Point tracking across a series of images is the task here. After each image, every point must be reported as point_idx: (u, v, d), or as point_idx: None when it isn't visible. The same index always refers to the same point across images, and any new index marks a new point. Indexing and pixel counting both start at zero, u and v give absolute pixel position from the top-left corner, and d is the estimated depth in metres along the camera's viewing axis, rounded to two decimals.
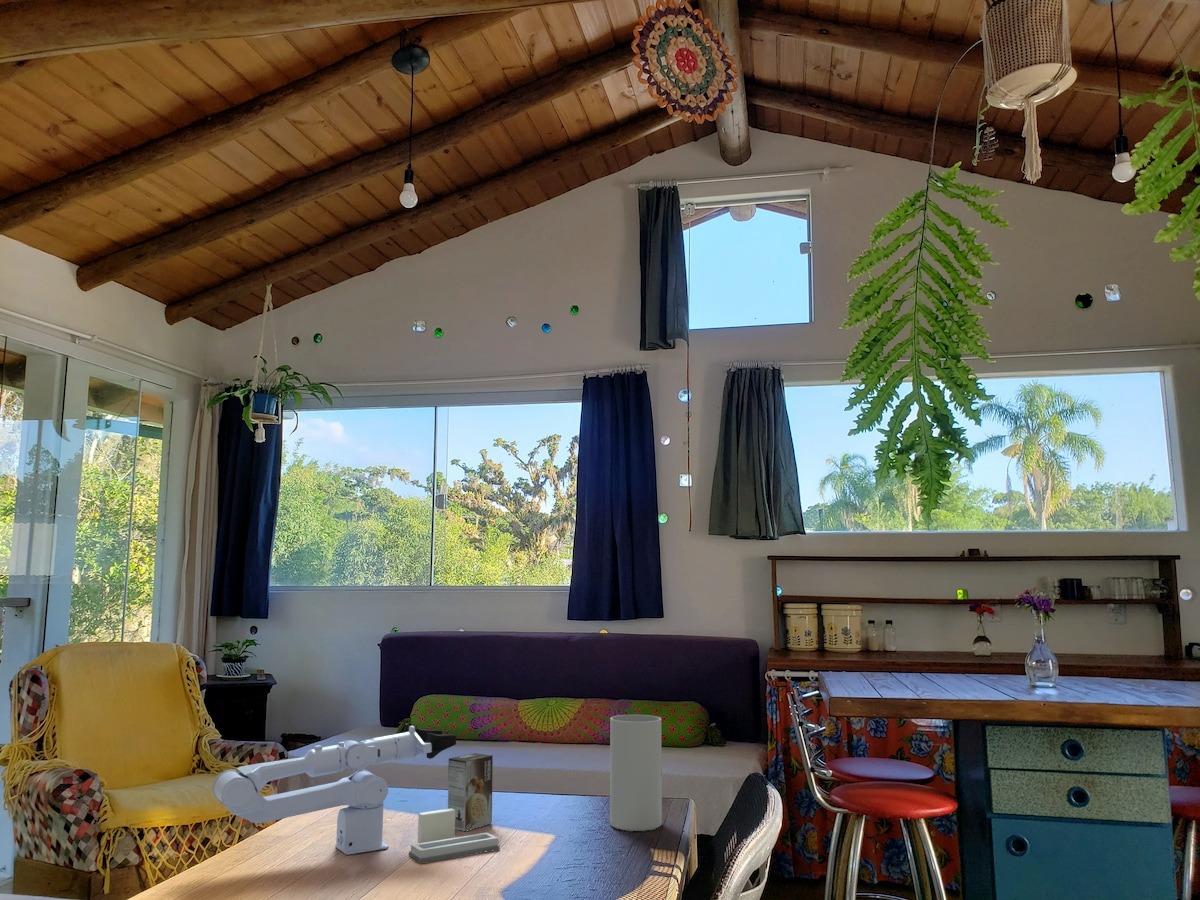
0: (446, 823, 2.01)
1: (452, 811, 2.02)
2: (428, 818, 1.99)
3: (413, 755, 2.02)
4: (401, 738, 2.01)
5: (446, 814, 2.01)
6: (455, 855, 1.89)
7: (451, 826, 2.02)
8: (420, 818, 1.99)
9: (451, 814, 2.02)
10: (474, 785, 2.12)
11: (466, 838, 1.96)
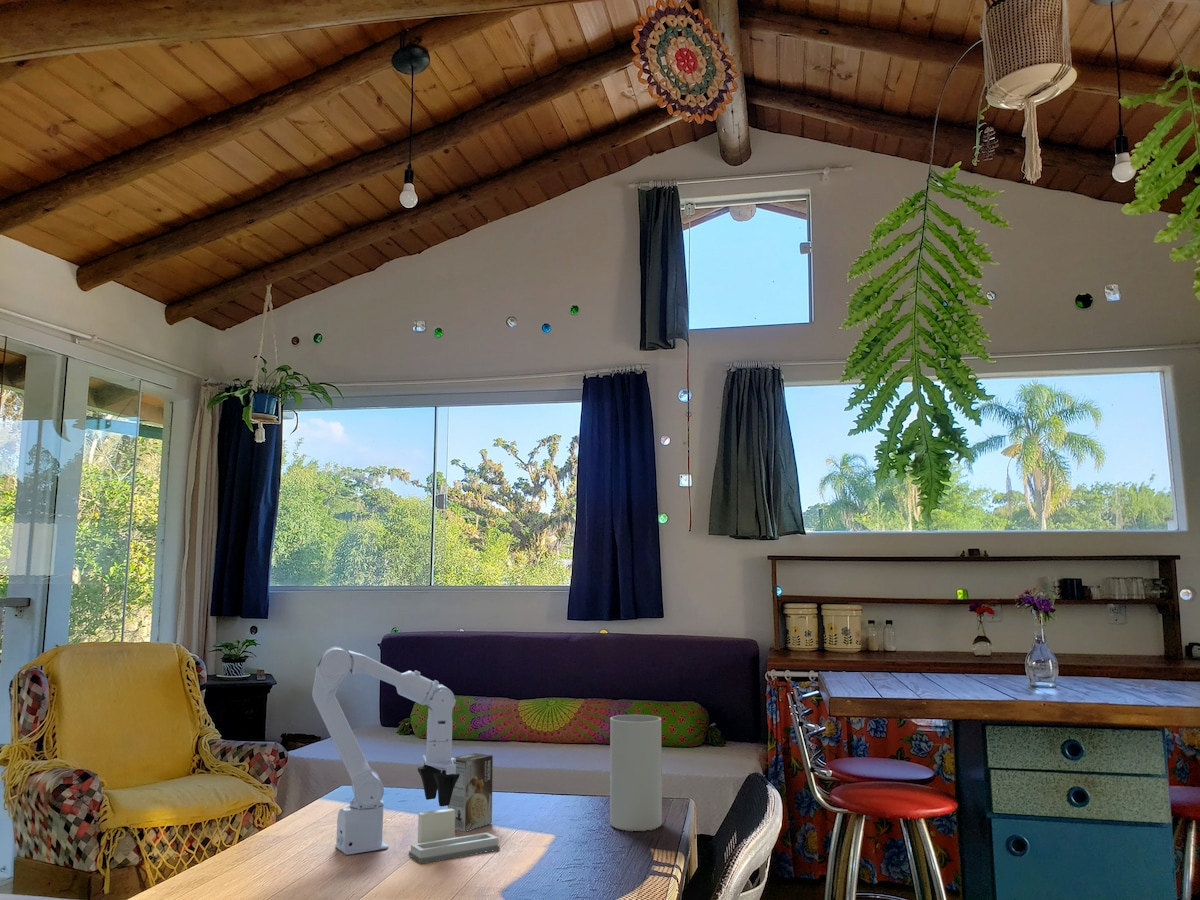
0: (446, 823, 2.01)
1: (452, 811, 2.02)
2: (428, 818, 1.99)
3: (432, 761, 2.00)
4: (451, 746, 2.03)
5: (446, 814, 2.01)
6: (455, 855, 1.89)
7: (451, 826, 2.02)
8: (420, 818, 1.99)
9: (451, 814, 2.02)
10: (474, 785, 2.12)
11: (466, 838, 1.96)
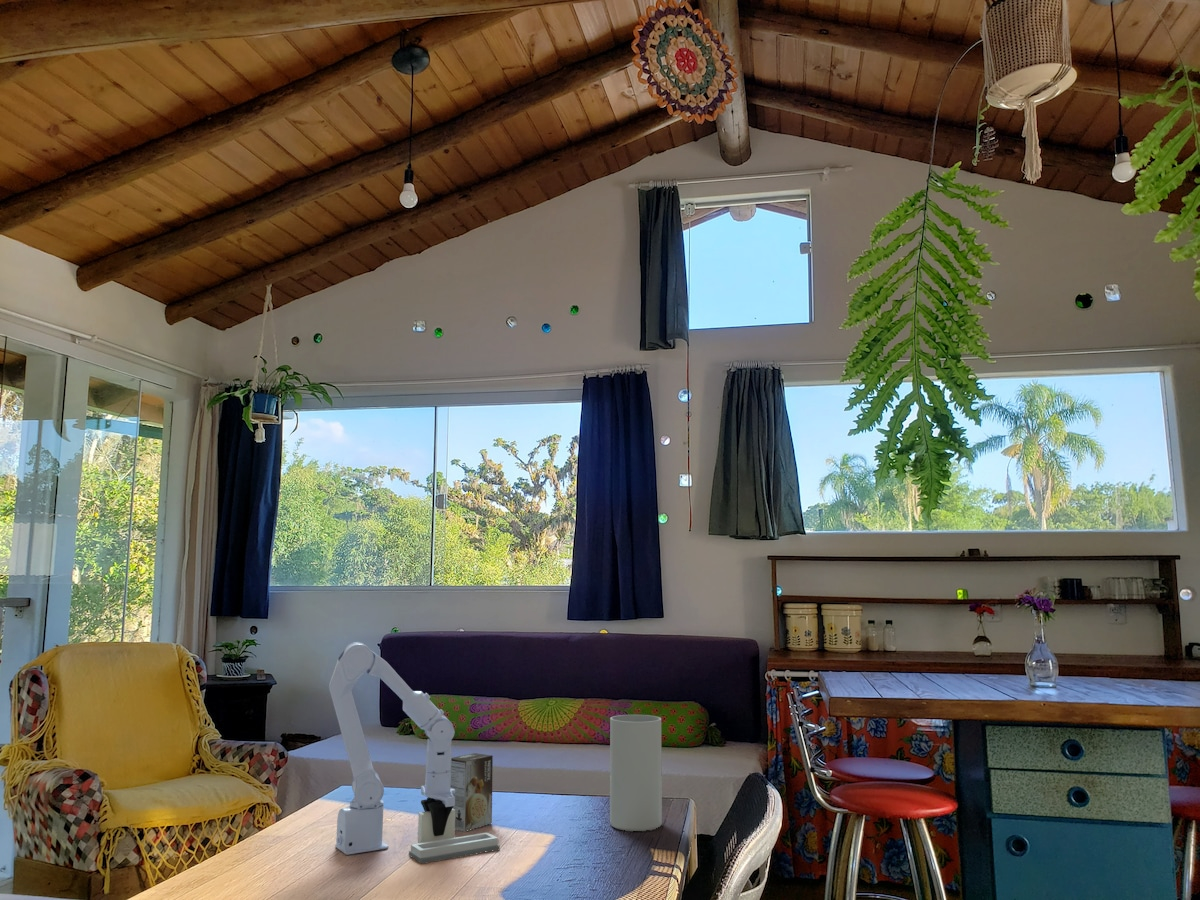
0: (446, 823, 2.01)
1: (452, 811, 2.02)
2: (428, 818, 1.99)
3: (431, 792, 1.99)
4: (450, 777, 2.02)
5: None
6: (455, 855, 1.89)
7: (451, 826, 2.02)
8: (420, 818, 1.99)
9: (451, 814, 2.02)
10: (474, 785, 2.12)
11: (466, 838, 1.96)
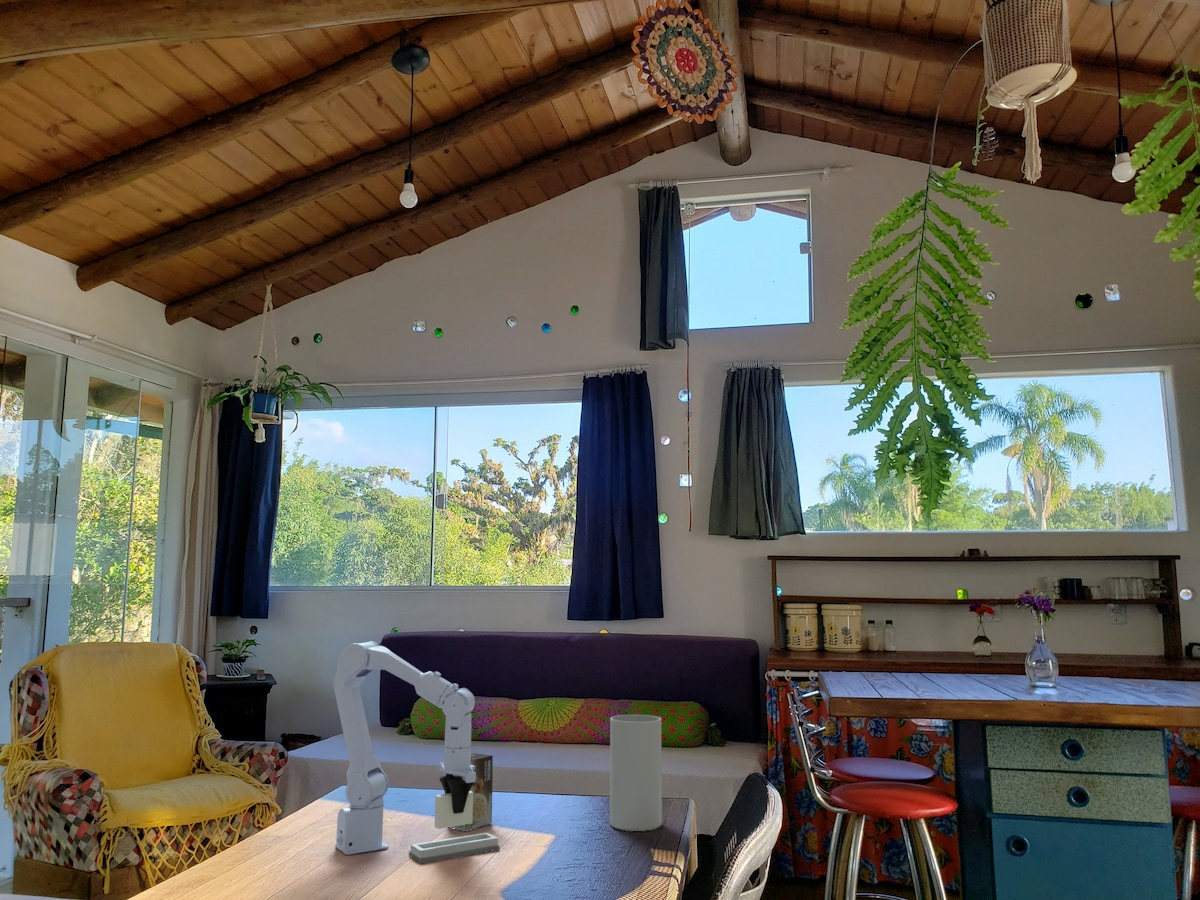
0: None
1: (470, 793, 1.95)
2: (445, 800, 1.91)
3: (451, 768, 1.92)
4: (470, 753, 1.95)
5: None
6: (455, 855, 1.89)
7: (469, 809, 1.94)
8: (437, 800, 1.91)
9: (469, 796, 1.94)
10: (474, 785, 2.12)
11: (466, 838, 1.96)
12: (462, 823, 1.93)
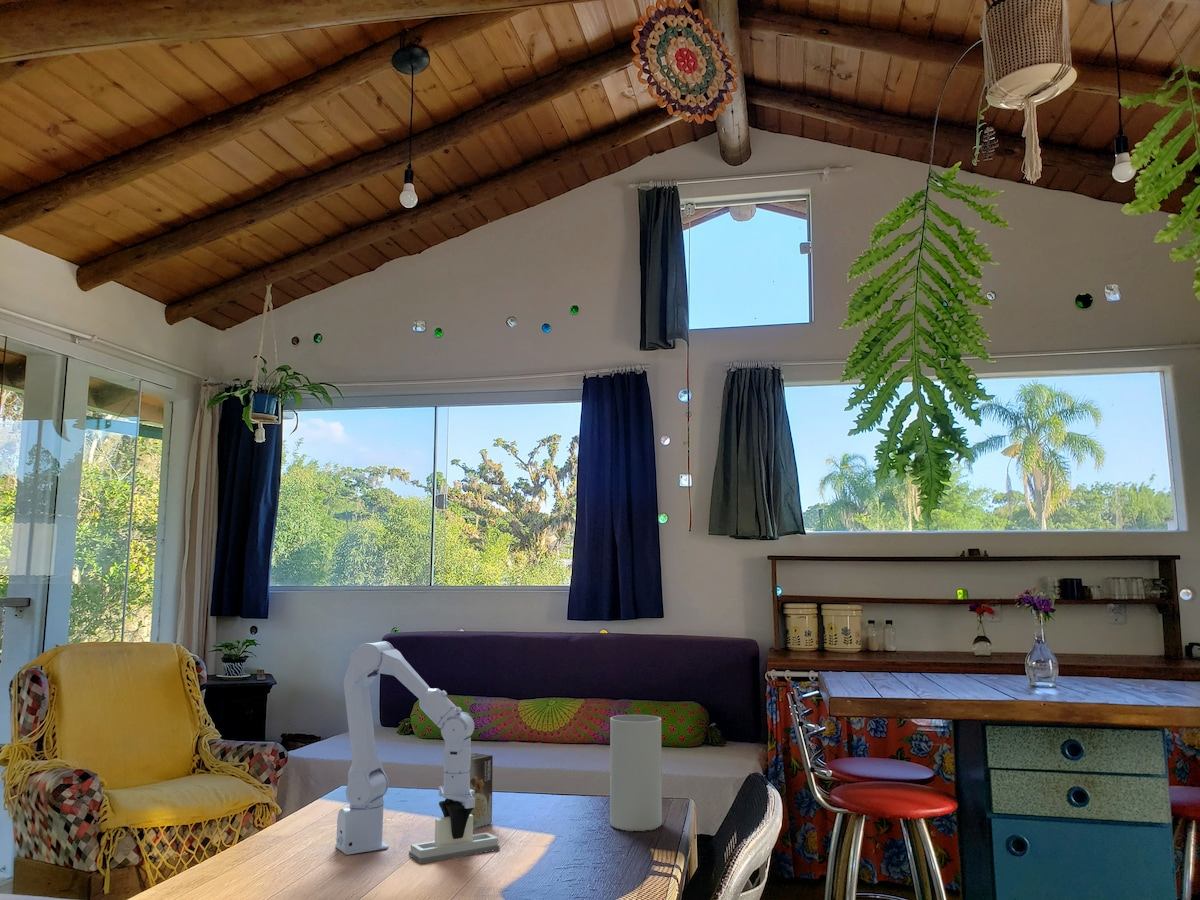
0: None
1: (470, 816, 1.94)
2: (445, 824, 1.91)
3: (450, 793, 1.91)
4: (469, 778, 1.94)
5: None
6: (455, 855, 1.89)
7: (469, 832, 1.93)
8: (437, 824, 1.91)
9: (469, 820, 1.94)
10: (474, 785, 2.12)
11: None
12: None
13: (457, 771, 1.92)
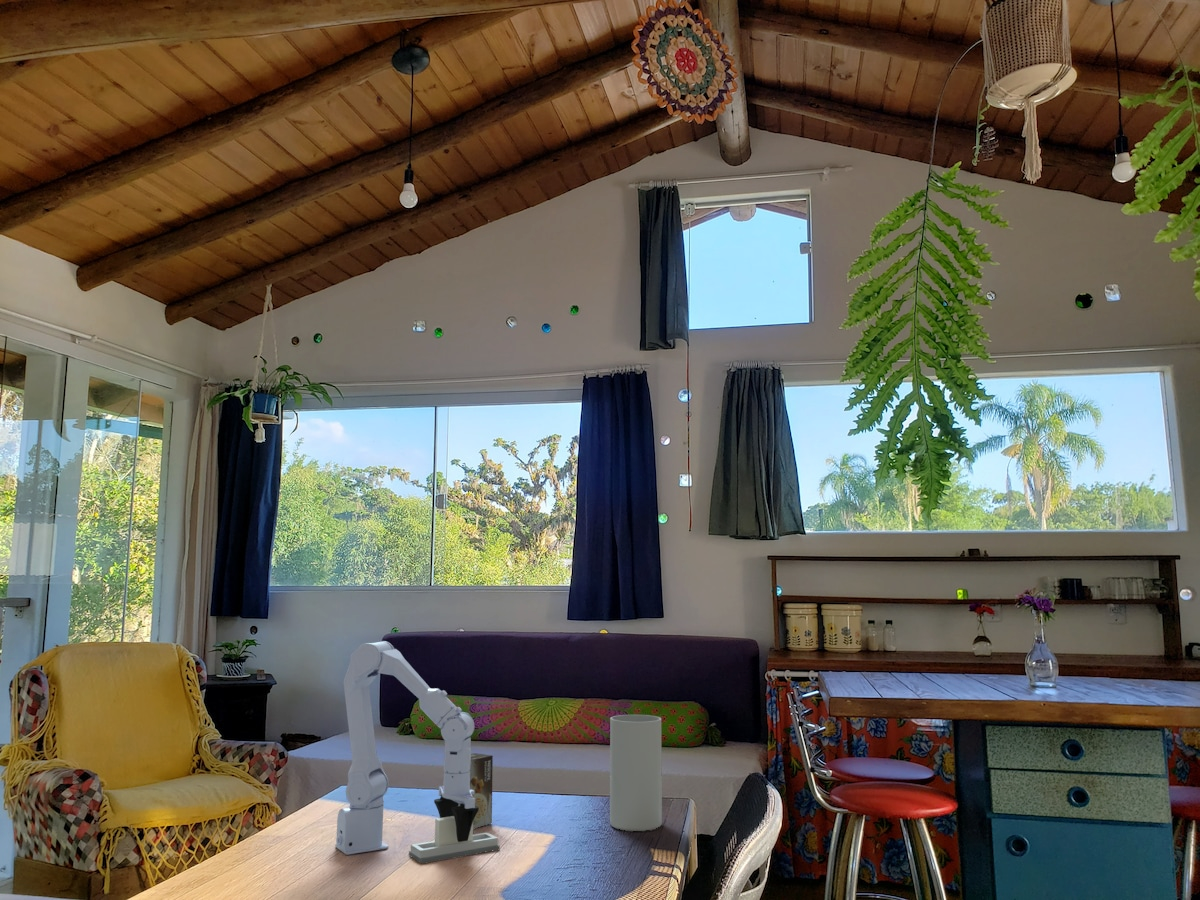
0: None
1: None
2: (445, 824, 1.91)
3: (450, 793, 1.91)
4: (469, 778, 1.94)
5: None
6: (455, 855, 1.89)
7: None
8: (437, 824, 1.91)
9: None
10: (474, 785, 2.12)
11: None
12: None
13: (457, 771, 1.92)
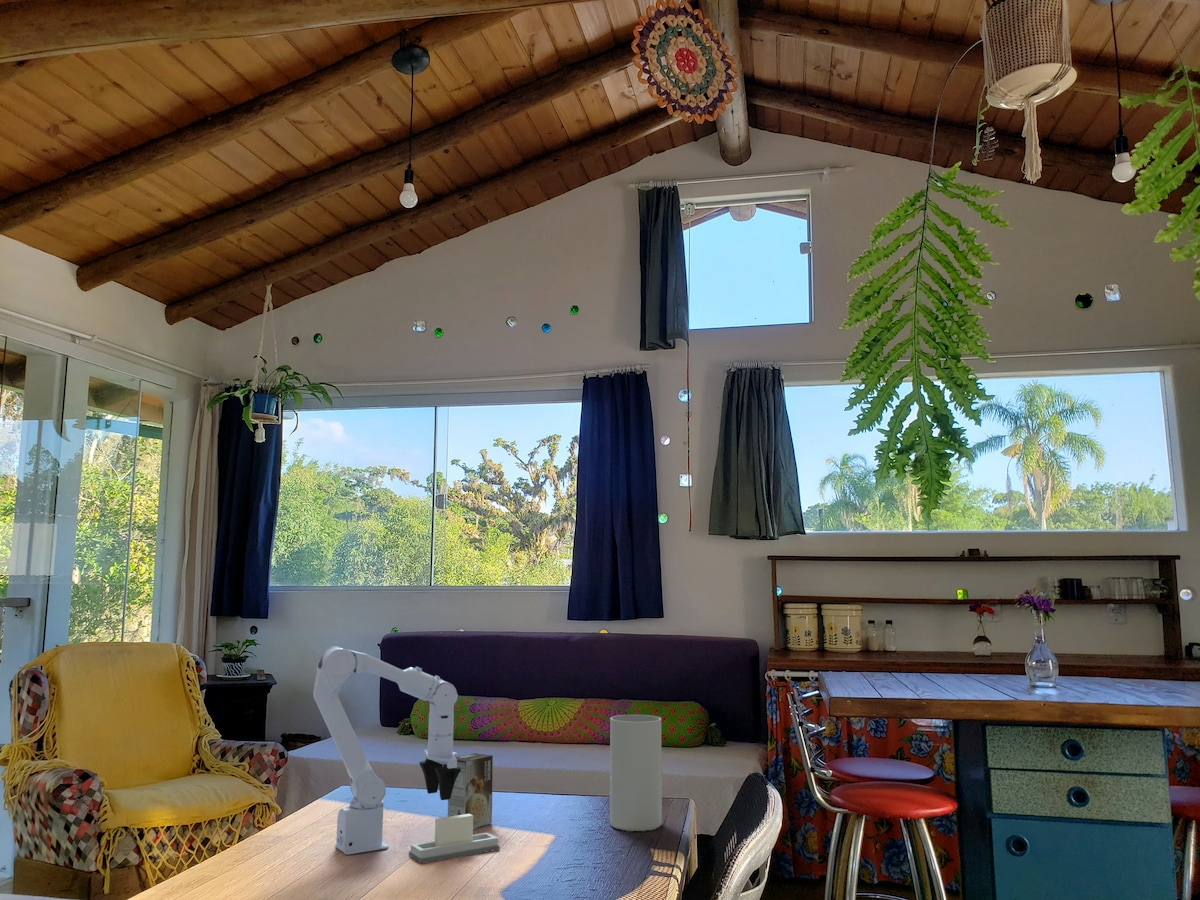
0: (464, 829, 1.93)
1: (470, 816, 1.94)
2: (445, 824, 1.91)
3: (434, 755, 2.02)
4: (452, 741, 2.05)
5: (464, 820, 1.93)
6: (455, 855, 1.89)
7: (469, 832, 1.93)
8: (437, 824, 1.91)
9: (469, 820, 1.94)
10: (474, 785, 2.12)
11: None
12: None
13: (447, 733, 2.04)
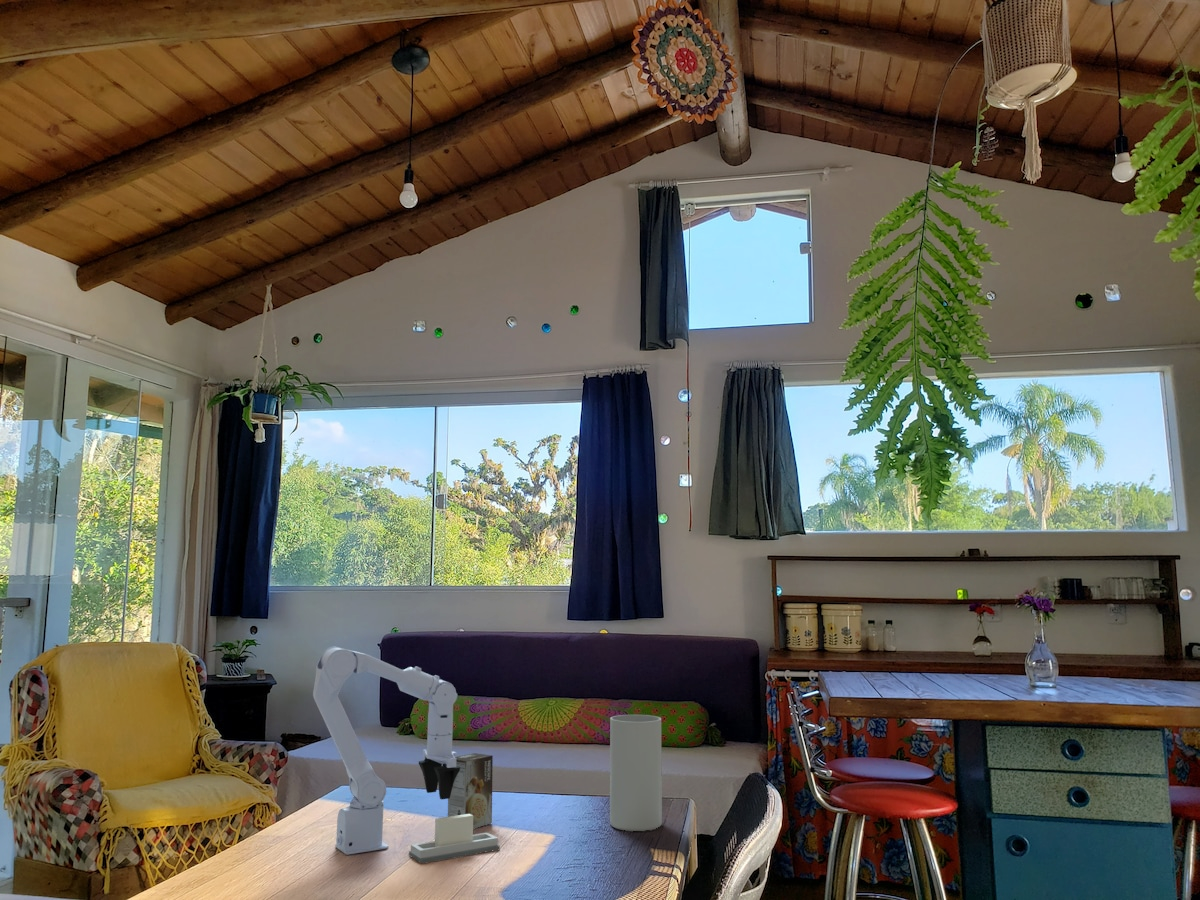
0: (464, 829, 1.93)
1: (470, 816, 1.94)
2: (445, 824, 1.91)
3: (433, 754, 2.03)
4: (451, 740, 2.06)
5: (464, 820, 1.93)
6: (455, 855, 1.89)
7: (469, 832, 1.93)
8: (437, 824, 1.91)
9: (469, 820, 1.94)
10: (474, 785, 2.12)
11: None
12: None
13: (447, 733, 2.04)
